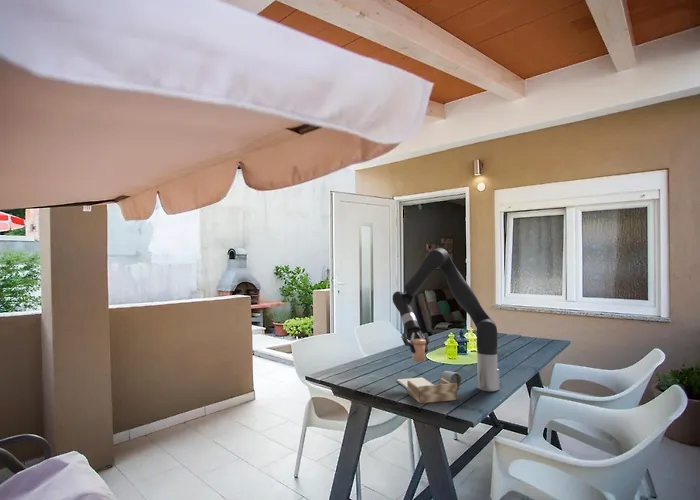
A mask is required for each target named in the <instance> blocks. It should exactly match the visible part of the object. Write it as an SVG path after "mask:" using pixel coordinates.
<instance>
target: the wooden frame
mask: <svg viewBox="0 0 700 500" xmlns="http://www.w3.org/2000/svg"><path fill="white" fill-rule="evenodd" d="M439 382H440V384H439V385H438V384H433V385H427V386H419V387H417V386H416V385H414V384H413V383H412V382H410V381H407V389H406V391H407V394H408V395H409V396H411V397H412V398H413V399H414V400H416V401H417V402H418V403H420V404H425V403H436V402H447V401H456V400H458V389H457V383H449V382H448V381H446V380H444V379H443V378H440V381H439Z"/></svg>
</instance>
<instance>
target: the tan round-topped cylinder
mask: <svg viewBox="0 0 700 500" xmlns="http://www.w3.org/2000/svg"><path fill="white" fill-rule="evenodd" d="M412 343H413V344H412V345H413V346H414V348H415V353H412V361H414V362H418V363H422V362H425V361H426V353H425V344H426V340H425V339H412Z"/></svg>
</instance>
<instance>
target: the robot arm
mask: <svg viewBox="0 0 700 500" xmlns="http://www.w3.org/2000/svg"><path fill="white" fill-rule="evenodd" d="M438 268H439V270H440V271H441V272H442V273H443V275H444V277H445V279H446V283H447V285H448V288H449V291H450V293H451V295H452V296H453V298H454V299H455V300H456V302H457V303H458V305H459V306H460V307H461V308H462V309H463V310H464V311H465V313H467V315H469V317H470V319H471V320H472V322H473V323H474V325H475V327H476V357H477V358H476V359H477V360H476V361H477V362H476V366H477V367H476V368H477V369H476V370H477V383H476V384H477V389H478V390H481V391H483V392H496V391H499V390H500V369H499V368H498V328H497V325H496V323H495V322H494V321H493V320H492V318H491V317H490V316H489V315H488V314H487V312H486V311H485V310H484V308H483V307H482V305H481V303H480V302H479V300H478V298H477V296H476V294H475V293H474V291H473V290H472V288H471V287H470V285H469V284H468V282H467V281H466V280H465V278H464V276H463V275H462V274H461V272H460V271H459V270H458V268H457V267H456V265H455V263H454V262H453V260H452V257H451V256H450V254H449V252H448V251H447V250H446V249H444V248H443V247H437V248H434V249H431V250H430V251H429V252H428V253H427V256H426V257H425V258H424V260H423V262H422V264H421V265H420V267H419V268H418V270H417V271H416V272H415V273H414V274H413V275H412V276H411V278H409V280H408V281H407V282H406V283H405V285H404V287H403V288H404V291H405V292H403V291H395V292H394V293H393V295H392V303H393V304H394V306H395V308H396V310H397V311H398V312H399V315H400V317H401V322H402V325H403V328H404V331H405V332H404V333H402V335H401V337H400V338H401V339H402V341H403V344H404V346H405V347H409V349H410V353H412V354H413V353H415V348H414V346H413V343H412V339H425V340H426V344H425V354H426V353H428V351H429V348H428V346H429V344H430V339H429V333H428V332H425V333H423V332H422V331H421V327H420V325H419V322H418V320H417V317H416V315H415V312H414V310H413V308H412V306H411V304H412V302H413V299H414V298H415V296H416V294H417V292H418V291H419V290H420V289H421V288H422V287H423V285H424V284H425V282H426V281H427V279H428V277H429V276H430V275H431V274H432V273H433V272H434V271H435V270H437V269H438ZM408 339H409V340H408Z"/></svg>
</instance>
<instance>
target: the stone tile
mask: <svg viewBox="0 0 700 500" xmlns="http://www.w3.org/2000/svg"><path fill="white" fill-rule="evenodd" d="M407 381H410V382H412V383H413V384H414V385H416V386H417V387H419V386H427V385H434V384H433V383H432V382H430V381H429V380H427V379H425V378H424V377H413V378H412V377H411V378H410V377H409V378H399V379H397V383H399V384H400V385H402V386H403V388H405V389H406V390H407Z"/></svg>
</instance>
